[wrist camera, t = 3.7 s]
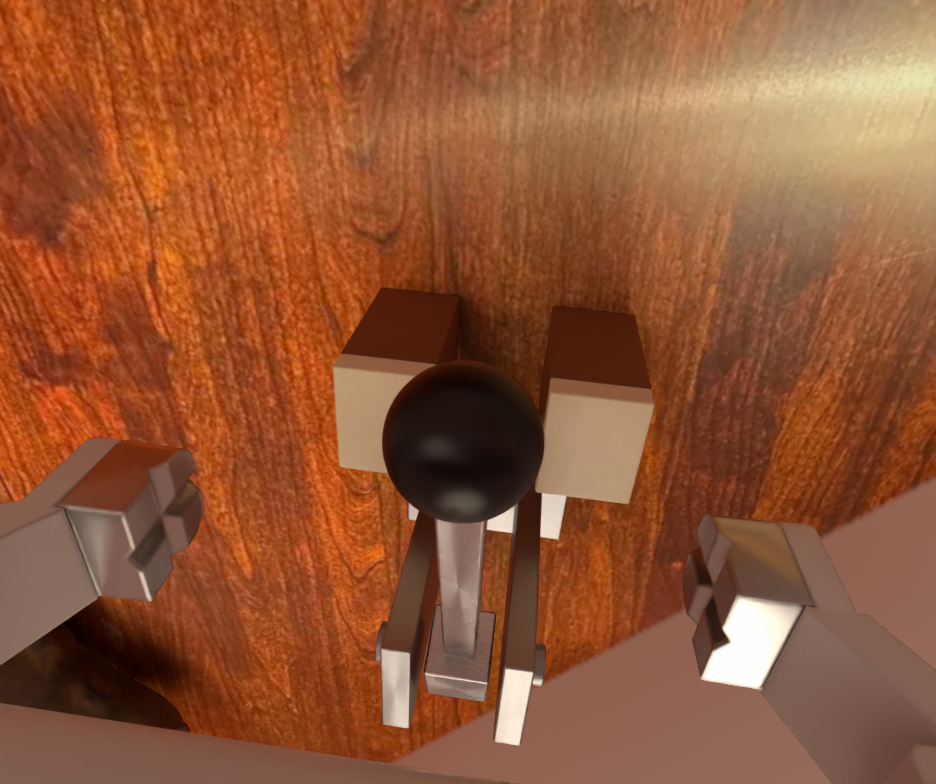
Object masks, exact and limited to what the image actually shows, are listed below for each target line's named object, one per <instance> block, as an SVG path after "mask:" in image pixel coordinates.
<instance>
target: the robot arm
mask: <svg viewBox="0 0 936 784" xmlns="http://www.w3.org/2000/svg"><path fill="white" fill-rule="evenodd" d="M194 471H195V465H194V462H193V458H192V454H191V453H190V452H189V451H187V450H185V449H182V448H175V447H168V446H162V445H155V444H148V443H142V442H135V441H128V440H126V441H123V440H117V439H111V438H104V437H94V438H91V439H87V440H86V441H85V442H84V443H83V444H82V445H81V446H80V447H78V448H77V449H76V450H75V451H74V452H73V453H72V454H71V455H70V456H69V457H68V458H67V459H66V460H65V461H64V462H63V463H61V464H60V465H59V466H58V467H57V468H56V469H55V470H54V471H53V472H52V473H51V474H50V475H49V476H48V477H47V478H45V479H44V480H43V481H42V482H41V483H40V484H39V485H38V486H37V487H36V488H35V489H34V490H33V491H32V492H31V493H30V494H28V495H27V496H26V497H25V498H24V499H23V500H22V501H21V502H15V501H9V502H7V503H5V504H2V505H0V665H1V664H3V663H4V662H6V661H7V660H9V659H10V658H12V657H13V656H15V655H16V654H17V653H19V652H20V651H22V650H23V649H25V648H26V647H28V646H29V645H31V644H32V643H34V642H35V641H36V640H38V639H39V638H41V637H42V636H44V635H45V634H47V633H48V632H50V631H51V630H53V629H54V628H55V627H57V626H58V625H60V624H61V623H63V622H64V621H66V620H67V619H69V618H70V617H72V616H73V615H74V614H76V613H77V612H79V611H80V610H82V609H83V608H85V607H86V606H88V605H89V604H91V603H92V602H94V601H95V600H96V599H98V596H107V597H116V598H125V599H134V600H143V601H152V600H153V599H154V597H155V596H156V594H157V593H158V591H159V590H160V588H161V587H162V585H163V584H164V582H165V581H166V579H167V578H168V576H169V575H170V573H171V572H172V570H173V569H174V566H173V561H172V556H173V555H175V554H176V553H178V552H180V551H182V550H183V549H185V548H187V547H188V546H189V545H190V543H191V541H192V540H193V538H194V537H195V535H196V534H197V531H198V528H199V525H200V521H201V518H202V509H203V501H202V496H201V491H200V489H199V488H198V487H197V486H196V485H195V484H194V483H193V482H192V481H191V480H190V479H189V477H190V476H191V475H192V473H193V472H194ZM697 534H698V538H699V542H700V547H699V548H697V549H696V550H694V551H693V552H691V553H690V554H689V558H688V561H687V564H686V567H685V574H684V583H683V591H684V602H685V607H686V612H687V615H688V616H689V617H690V618H691V619H692V620H693V621H694V622H695V623H696V624H697V629H696V631H695V634H694V636H693V639H692V641H693V646H694V650H695V655H696V659H697V664H698V669H699V673H700V678H701V680H708V681H713V682H719V683H725V684H731V685H737V686H743V687H749V688H755V689H760V690H761V692H760V693H761V694H762V695H763V697H764V698H765V699H766V700H767V702H768V703H769V704H770V706H771V707H772V708H773V709H774V711H775V712H776V713H777V714H778V716H779V717H780V718H781V720H782V721H783V722H784V723H785V725H786V726H787V727H788V728H789V730H790V731H791V732H792V733H793V735H794V736H795V737H796V739H797V740H798V741H799V742H800V744H801V745H802V746H803V748H804V749H805V750H806V751H807V753H808V754H809V755H810V756H811V758H812V759H813V760H814V761H815V763H816V764H817V765H818V767H819V768H820V769H821V770H822V772H823V773H824V774H825V775H826V777H827V778H828V779H829V780H830V782H831V783H832V784H936V669H934V668H933V667H932V666H931V665H929V664H928V663H927V662H926V661H924V660H923V659H922V658H921V657H919V656H918V655H917V654H916V653H914V652H913V651H912V650H911V649H910V648H908V647H907V646H906V645H905V644H903V643H902V642H901V641H900V640H899V639H897V638H896V637H895V636H894V635H892V634H891V633H890V632H889V631H887V630H886V629H885V628H884V627H883V626H881V625H880V624H879V623H878V622H876V621H875V620H874V619H873V618H871V617H870V616H869V615H865V614H858V613H857V612H856V610H855V608H854V606H853V604H852V602H851V600H850V598H849V596H848V594H847V592H846V590H845V587H844V585H843V583H842V581H841V579H840V577H839V575H838V573H837V571H836V569H835V567H834V565H833V563H832V561H831V559H830V557H829V555H828V553H827V551H826V549H825V547H824V545H823V543H822V541H821V539H820V537H819V535H818V533H817V531H816V530H815V529H814V528H813V527H812V526H810V525H805V524H796V523H787V522H777V521H775V522H771V521H763V520H755V519H746V518H738V517H729V516H721V515H712V514H706V516H705V517H704V518H703V519H702V521H701V524H700V526H699V529H698V532H697ZM97 595H98V596H97ZM0 784H518V783H511V782H505V781H498V780H492V779H486V778H479V777H472V776H466V775H459V774H453V773H447V772H439V771H433V770H427V769H420V768H415V767H408V766H401V765H395V764H389V763H382V762H376V761H370V760H363V759H357V758H350V757H344V756H337V755H331V754H325V753H318V752H312V751H305V750H299V749H292V748H286V747H280V746H273V745H267V744H260V743H254V742H247V741H241V740H235V739H228V738H222V737H215V736H209V735H203V734H196V733H190V732H183V731H177V730H170V729H164V728H158V727H151V726H145V725H138V724H132V723H126V722H119V721H113V720H106V719H100V718H93V717H87V716H81V715H74V714H68V713H61V712H55V711H49V710H42V709H36V708H29V707H23V706H17V705H10V704H4V703H0Z"/></svg>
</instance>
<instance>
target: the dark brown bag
mask: <svg viewBox="0 0 936 784" xmlns="http://www.w3.org/2000/svg"><path fill="white" fill-rule="evenodd" d="M0 703H4V704H10V705H17V706H23V707H29V708H36V709H42V710H49V711H55V712H61V713H68V714H74V715H81V716H87V717H93V718H100V719H106V720H113V721H119V722H126V723H132V724H138V725H145V726H151V727H158V728H164V729H170V730H177V731H183V732H190V729H189V727H188V725H187V724H186V723H185V722H184V721H183V719H182V717H181V715H180V713H179V712H178V710H177V709H176V708H175V707H174V706H173V705H172V704H171V703H170V702H169V701H168V700H167V699H166V698H164V697H163V696H162V695H160V694H159V693H157V692H155V691H153V690H152V689H150V688H148V687H147V686H145V685H143V684H141V683H139V682H137V681H135V680H134V679H133V678H132V677H128V676H127V675H125V674H123V673H121V672H120V671H118V670H117V669H115V668H114V667H112V666H111V665H109V664H107V663H106V662H104V661H102V660H101V659H99V658H97V657H95V656H93V655H91V654H89V653H87V652H85V651H84V650H83V649H82V648H81V647H80V646H79V645H78V643H77V641H76V639H75V637H74V636H73V634H72V632H71V631H70V629H69V628H68V627H67V626H66V625H65V624H64V623H61V624H60V625H58V626H57V627H55V628H54V629H53V630H51V631H50V632H48V633H47V634H45V635H44V636H42V637H41V638H39V639H38V640H36V641H35V642H34V643H32V644H31V645H29V646H28V647H26V648H25V649H23V650H22V651H20V652H19V653H17V654H16V655H15V656H13V657H12V658H10V659H9V660H7V661H6V662H4V663H3V664H1V665H0Z"/></svg>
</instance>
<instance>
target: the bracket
mask: <svg viewBox="0 0 936 784" xmlns="http://www.w3.org/2000/svg"><path fill="white" fill-rule="evenodd" d="M567 497H568V496H561V495H553V494H545V493H538V492H536V491H535V482H534V483H533V485H532V487H531V488H530V489H529V491H528V492H527V494H526V495H525V496H524V497H523V498H522V499H521V500H520V501H519V502H518V503H517V504H516V505H515V506H513V507H512V508H510V509H509V510H508V511H506V512H505V513H503V514H501V515H499V516H497V517H495V518H492V519H490V520H488V521H487V530H491V531H498V532H506V533H512V540H511V551H510V561H509V572H508V583H507V594H506V605H505V615H504V626H503V637H502V648H501V658H500V669H499V680H498V691H497V701H496V712H495V723H494V734H493V740H494V741H495V742H500V743H506V744H512V745H520V744H521V741H522V735H523V730H524V725H525V720H526V715H527V710H528V705H529V700H530V694H531V689H532V686H538V687H541V686H542V685H543V681H544V675H545V665H546V646H545V645H543V644H536V633H537V608H538V583H539V559H540V537H543V538H550V539H559V538H560V534H561V528H562V523H563V518H564V513H565V508H566V502H567ZM408 519H409V520H416V522H415V526H414V529H413V533H412V536H411V540H410V544H409V547H408V551H407V554H406V558H405V562H404V565H403V569H402V572H401V576H400V580H399V583H398V587H397V590H396V594H395V598H394V601H393V605H392V608H391V612H390V616H389V619H388V622H386V621H384V622H382V624H381V626H380V629H379V632H378V637H377V642H376V649H375V660H376V662H380V663H381V691H382V724H384V725H390V726H397V727H403V728H409V727H410V723H411V718H412V713H413V708H414V704H415V699H416V694H417V689H418V684H419V680H420V675H421V670H422V665H423V660H424V656H425V651H426V646H427V641H428V636H429V631H430V627H431V622H432V617H433V612H434V607H435V603H436V598H437V593H438V588H439V580H438V564H437V549H436V534H435V519H434V518H432V517H430V516H427V515H425V514H424V513H422V512H420V511H419V510H417V509H416V508H414V507H413V506H412V505H411V504H410V503H408Z"/></svg>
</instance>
